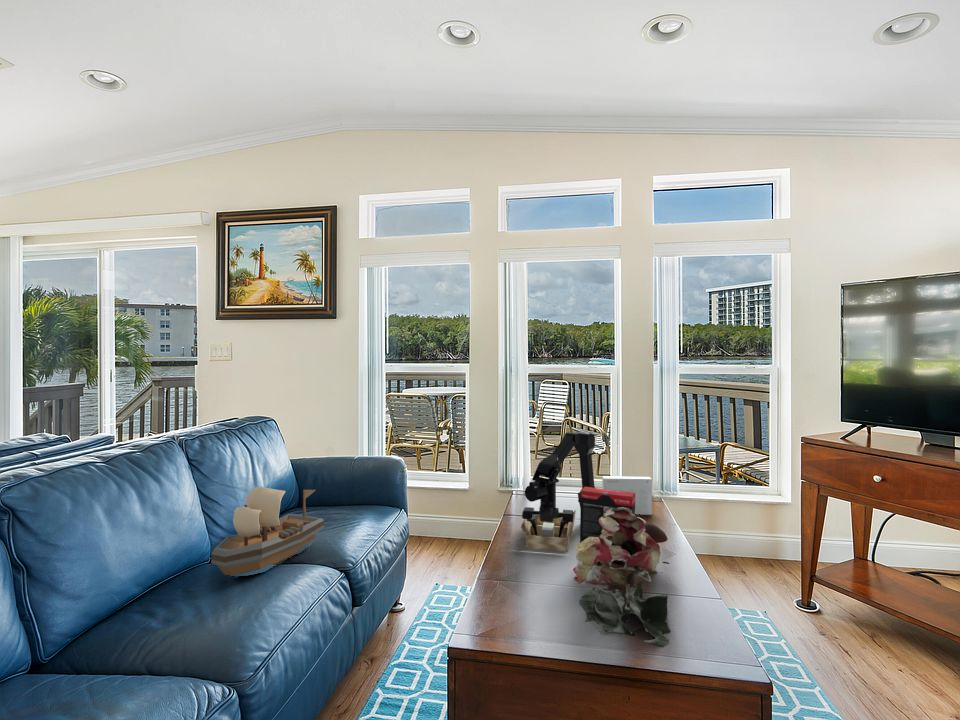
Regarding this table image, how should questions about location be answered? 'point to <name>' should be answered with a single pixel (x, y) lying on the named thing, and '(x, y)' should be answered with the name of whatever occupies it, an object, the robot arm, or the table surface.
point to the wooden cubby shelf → (548, 537)
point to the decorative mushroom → (655, 533)
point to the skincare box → (633, 490)
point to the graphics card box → (600, 508)
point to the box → (548, 529)
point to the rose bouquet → (621, 576)
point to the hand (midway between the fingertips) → (548, 537)
